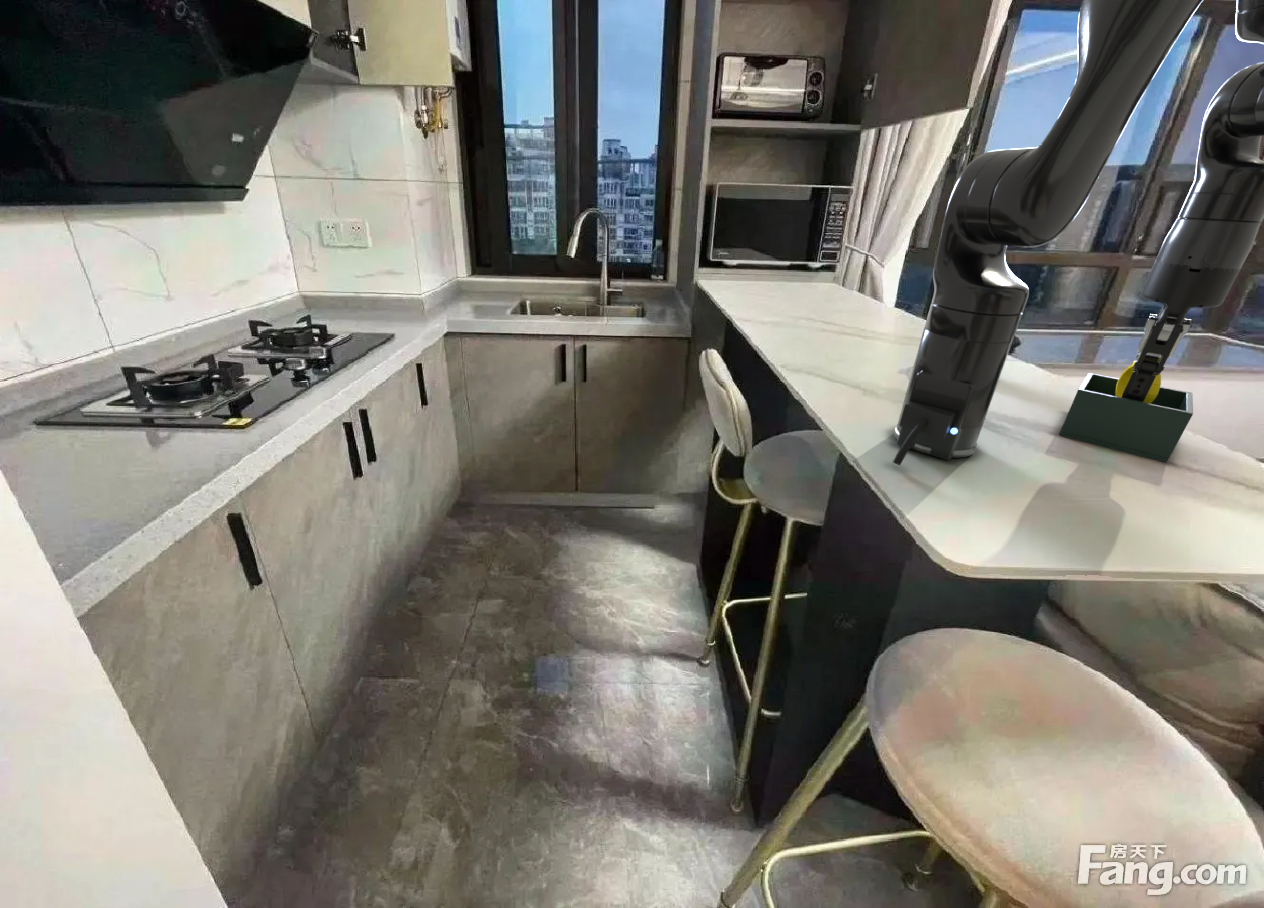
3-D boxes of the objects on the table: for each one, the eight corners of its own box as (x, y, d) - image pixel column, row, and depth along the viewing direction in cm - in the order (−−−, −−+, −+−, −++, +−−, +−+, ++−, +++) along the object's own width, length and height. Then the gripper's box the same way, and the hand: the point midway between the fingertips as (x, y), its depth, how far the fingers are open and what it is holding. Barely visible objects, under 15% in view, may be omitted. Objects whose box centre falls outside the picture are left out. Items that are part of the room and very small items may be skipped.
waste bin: (1166, 462, 67) (1193, 413, 64) (1058, 435, 74) (1078, 389, 71) (1168, 437, 75) (1192, 392, 72) (1070, 414, 81) (1088, 372, 78)
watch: (1153, 415, 69) (1176, 370, 67) (1129, 412, 70) (1151, 368, 67) (1126, 400, 75) (1146, 358, 72) (1103, 397, 75) (1122, 355, 72)
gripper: (1158, 255, 71) (1103, 377, 79) (1153, 261, 62) (1091, 400, 69) (1238, 262, 67) (1171, 391, 74) (1246, 269, 57) (1169, 417, 65)
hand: (1133, 395), depth 72 cm, fingers closed on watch, 5 cm apart
